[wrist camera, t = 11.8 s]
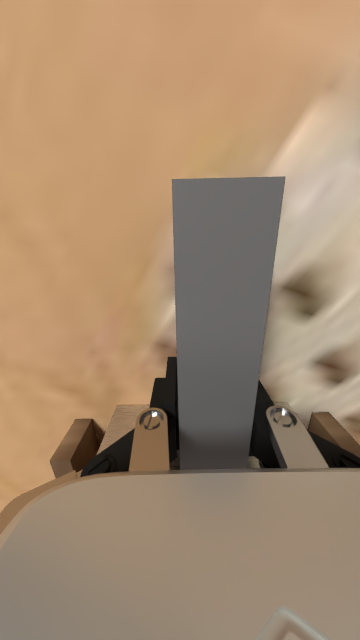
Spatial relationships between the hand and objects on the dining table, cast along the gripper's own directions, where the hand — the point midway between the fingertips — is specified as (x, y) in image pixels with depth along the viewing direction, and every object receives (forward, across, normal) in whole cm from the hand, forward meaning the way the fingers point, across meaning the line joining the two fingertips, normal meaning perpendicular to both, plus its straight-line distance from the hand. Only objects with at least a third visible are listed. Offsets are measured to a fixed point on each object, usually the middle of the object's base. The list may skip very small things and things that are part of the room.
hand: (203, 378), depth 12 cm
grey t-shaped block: (+1, 0, -3) cm, 3 cm away
